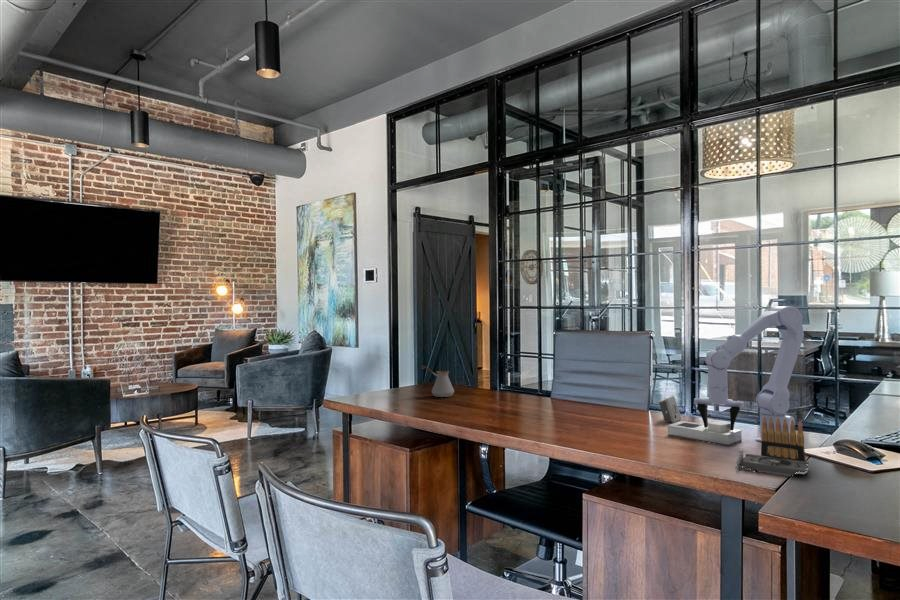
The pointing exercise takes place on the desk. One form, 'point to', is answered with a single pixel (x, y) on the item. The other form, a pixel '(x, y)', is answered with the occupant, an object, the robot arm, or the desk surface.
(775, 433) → the ammunition clip
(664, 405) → the electrical switch
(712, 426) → the plug
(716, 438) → the socket plate
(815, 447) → the desk surface
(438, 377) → the coffee pot
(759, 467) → the graphics card
